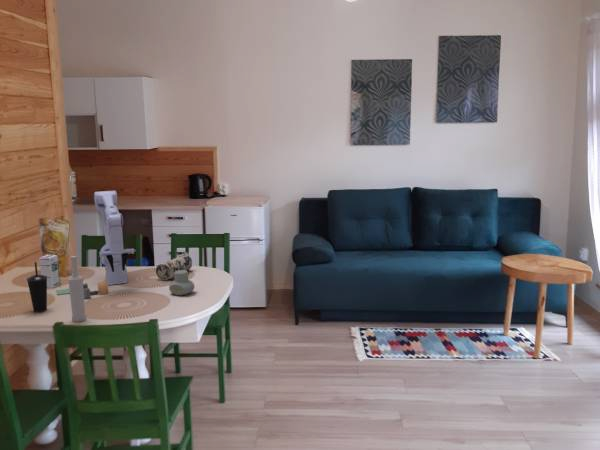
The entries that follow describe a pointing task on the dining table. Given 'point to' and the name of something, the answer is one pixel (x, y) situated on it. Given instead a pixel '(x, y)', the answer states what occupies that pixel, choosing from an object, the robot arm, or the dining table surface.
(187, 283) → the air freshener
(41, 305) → the drinking cup
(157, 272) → the pencil case
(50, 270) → the syrup box
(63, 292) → the mat
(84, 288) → the channel
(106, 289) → the plug
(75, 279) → the bottle
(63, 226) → the pancake mix bag
